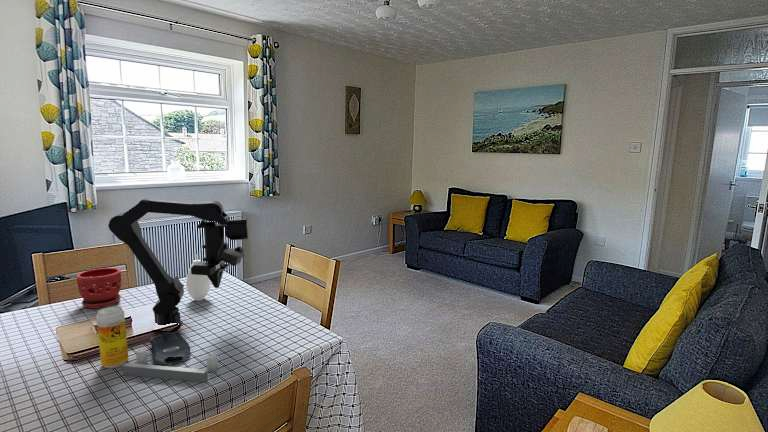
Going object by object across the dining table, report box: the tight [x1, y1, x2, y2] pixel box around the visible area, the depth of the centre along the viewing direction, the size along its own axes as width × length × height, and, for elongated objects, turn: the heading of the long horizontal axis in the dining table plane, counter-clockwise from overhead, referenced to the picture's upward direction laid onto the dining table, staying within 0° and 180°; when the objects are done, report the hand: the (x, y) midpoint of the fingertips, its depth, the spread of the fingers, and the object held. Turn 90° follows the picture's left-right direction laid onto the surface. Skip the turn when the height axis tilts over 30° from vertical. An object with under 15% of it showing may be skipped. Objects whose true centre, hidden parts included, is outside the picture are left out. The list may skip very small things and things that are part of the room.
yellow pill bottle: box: [96, 305, 129, 369], centre depth 108 cm, size 6×6×15 cm
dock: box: [121, 348, 219, 383], centre depth 106 cm, size 22×7×4 cm, turn 83°
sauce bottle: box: [185, 253, 211, 302], centre depth 152 cm, size 8×8×18 cm
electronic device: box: [149, 330, 191, 367], centre depth 115 cm, size 9×6×15 cm
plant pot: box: [76, 267, 122, 309], centre depth 148 cm, size 13×13×12 cm
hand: (216, 287), depth 133 cm, fingers closed
